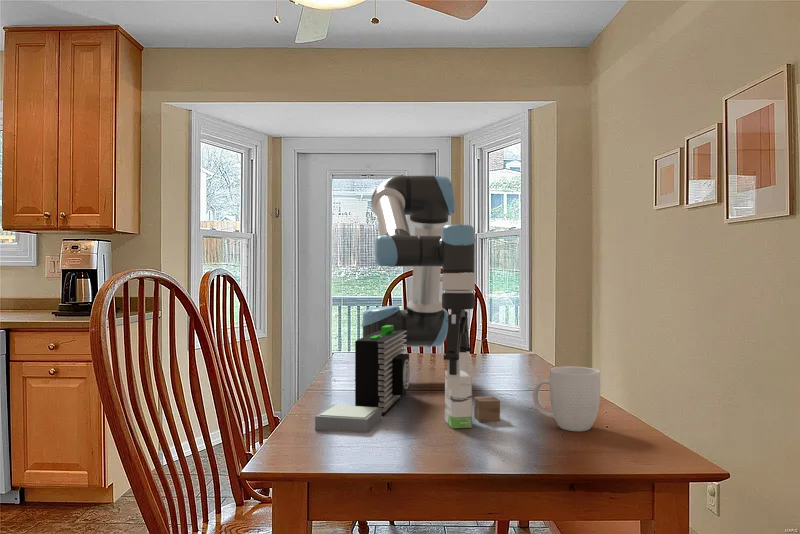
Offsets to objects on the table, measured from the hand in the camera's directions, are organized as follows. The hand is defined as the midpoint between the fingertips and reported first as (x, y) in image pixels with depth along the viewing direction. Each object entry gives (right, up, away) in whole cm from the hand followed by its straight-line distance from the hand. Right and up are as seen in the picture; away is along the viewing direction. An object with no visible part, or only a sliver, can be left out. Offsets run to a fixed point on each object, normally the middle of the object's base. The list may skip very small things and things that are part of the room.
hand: (458, 384), depth 150 cm
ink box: (0, -9, 0) cm, 9 cm away
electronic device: (-17, -9, +22) cm, 29 cm away
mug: (+25, -9, -3) cm, 27 cm away
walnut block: (+7, -9, +5) cm, 13 cm away
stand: (-25, -9, -1) cm, 27 cm away
